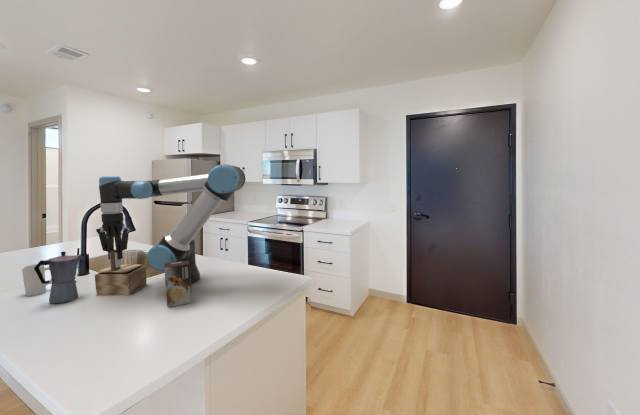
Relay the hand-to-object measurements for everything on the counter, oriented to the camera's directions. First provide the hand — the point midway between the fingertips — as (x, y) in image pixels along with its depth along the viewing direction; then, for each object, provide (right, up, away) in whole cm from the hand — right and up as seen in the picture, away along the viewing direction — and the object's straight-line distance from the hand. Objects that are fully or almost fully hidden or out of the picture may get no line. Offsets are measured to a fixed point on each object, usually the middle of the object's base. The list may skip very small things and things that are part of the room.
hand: (116, 266), depth 122 cm
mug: (-34, -12, +2) cm, 36 cm away
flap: (0, -2, +3) cm, 3 cm away
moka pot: (-17, -13, -7) cm, 22 cm away
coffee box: (+32, -13, -9) cm, 35 cm away
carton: (0, -11, +4) cm, 12 cm away
